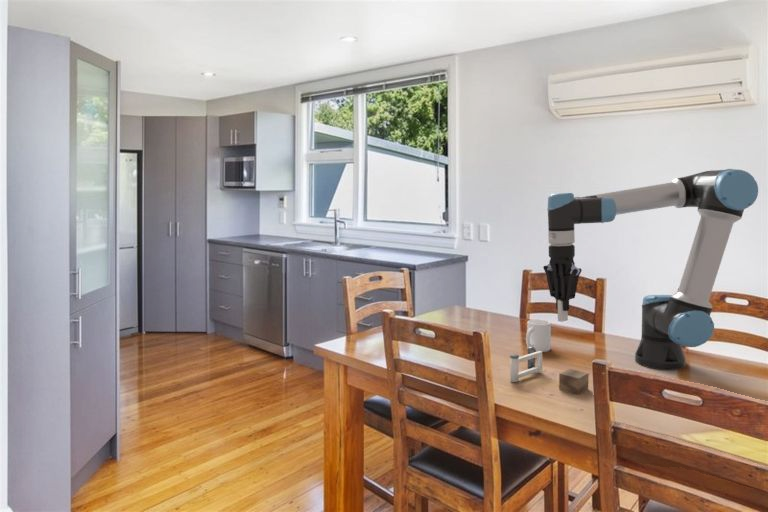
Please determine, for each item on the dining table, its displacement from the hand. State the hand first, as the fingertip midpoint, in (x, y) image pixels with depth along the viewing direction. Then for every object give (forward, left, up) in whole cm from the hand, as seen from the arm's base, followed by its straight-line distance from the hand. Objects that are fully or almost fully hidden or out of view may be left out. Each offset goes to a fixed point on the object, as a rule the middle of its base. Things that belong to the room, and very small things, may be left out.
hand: (562, 320), depth 167 cm
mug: (+21, -22, -19) cm, 36 cm away
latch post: (+12, -2, -19) cm, 22 cm away
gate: (+9, +6, -18) cm, 21 cm away
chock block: (-7, +6, -19) cm, 21 cm away
